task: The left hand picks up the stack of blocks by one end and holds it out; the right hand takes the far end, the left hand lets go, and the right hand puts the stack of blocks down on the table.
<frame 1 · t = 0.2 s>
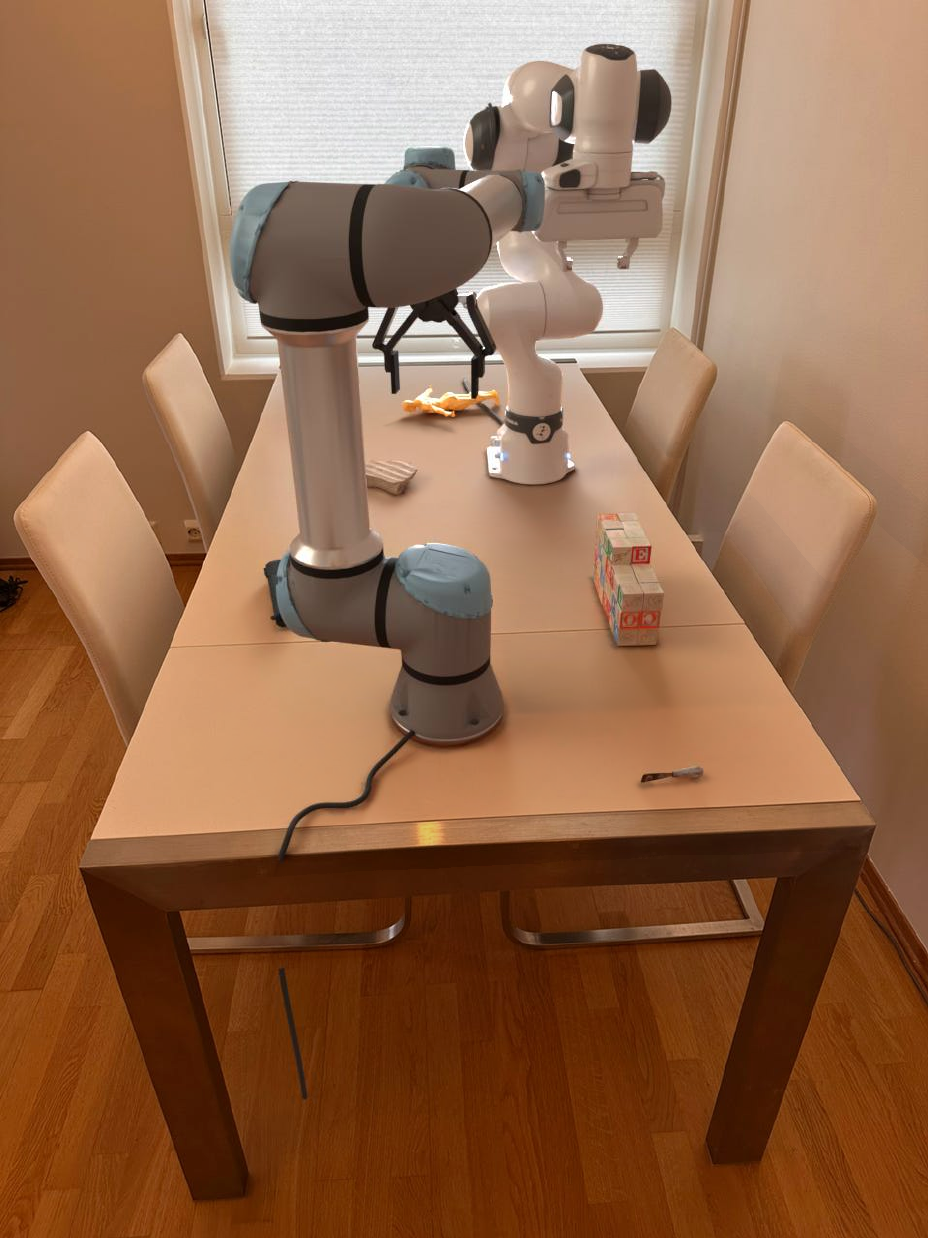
left hand: (435, 394, 149), 28 cm above the table, tool pointing down, fingers open, 13 cm apart
right hand: (594, 269, 141), 47 cm above the table, tool pointing down, fingers open, 8 cm apart
stone: (386, 483, 187), on the table
stack of blocks: (622, 609, 143), on the table
putty knife: (671, 781, 109), on the table
human figure: (450, 410, 226), on the table
handgun: (304, 597, 147), on the table
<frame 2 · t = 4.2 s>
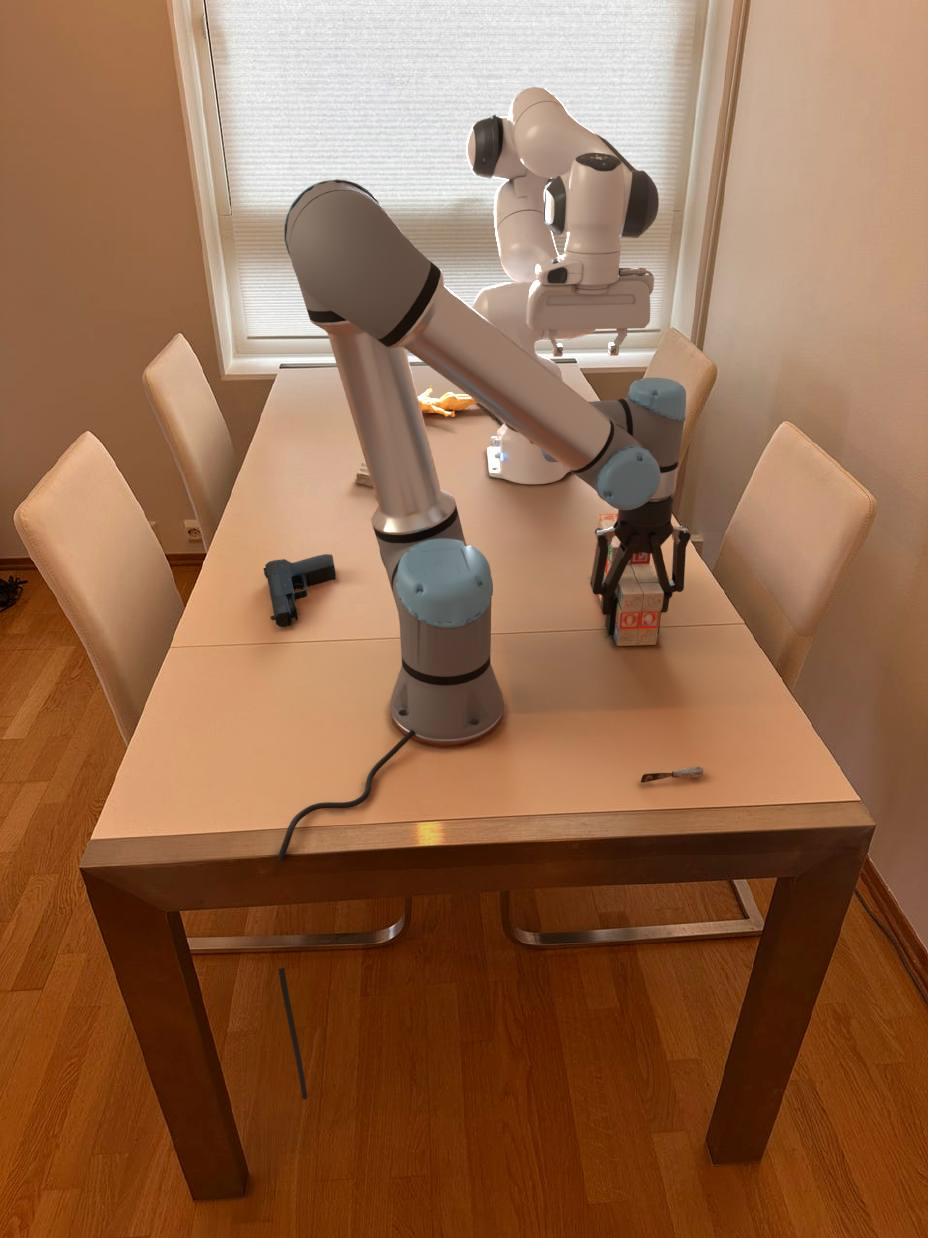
left hand: (631, 629, 137), 1 cm above the table, tool pointing down, fingers closed on stack of blocks, 6 cm apart
right hand: (585, 355, 150), 33 cm above the table, tool pointing down, fingers open, 8 cm apart
stack of blocks: (622, 609, 143), on the table, touching left hand
everything else where it was.
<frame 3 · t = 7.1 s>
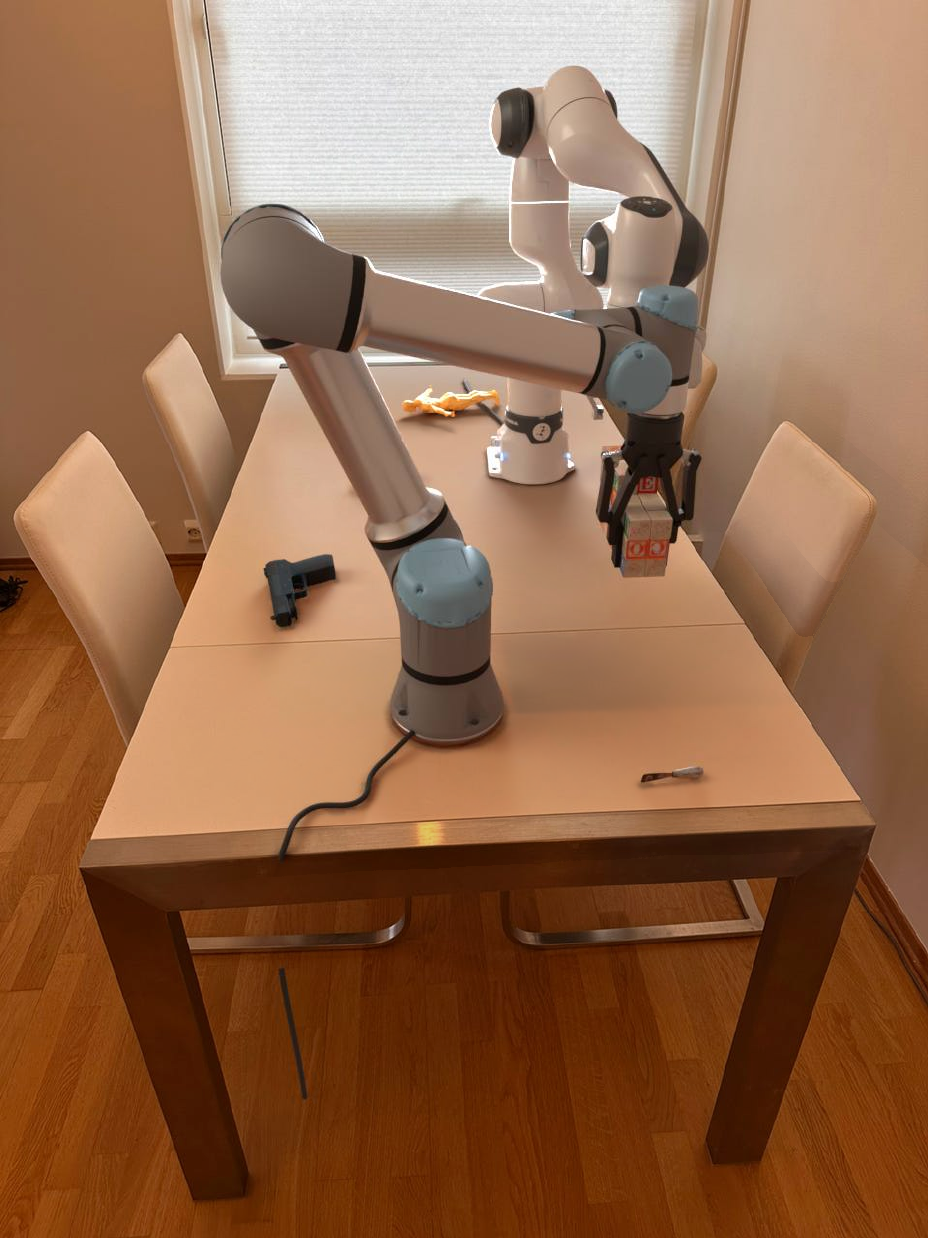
left hand: (638, 562, 131), 12 cm above the table, tool pointing down, fingers closed on stack of blocks, 6 cm apart
right hand: (628, 417, 134), 29 cm above the table, tool pointing down, fingers open, 8 cm apart
stack of blocks: (629, 545, 137), point 12 cm above the table, touching left hand
everything else where it was.
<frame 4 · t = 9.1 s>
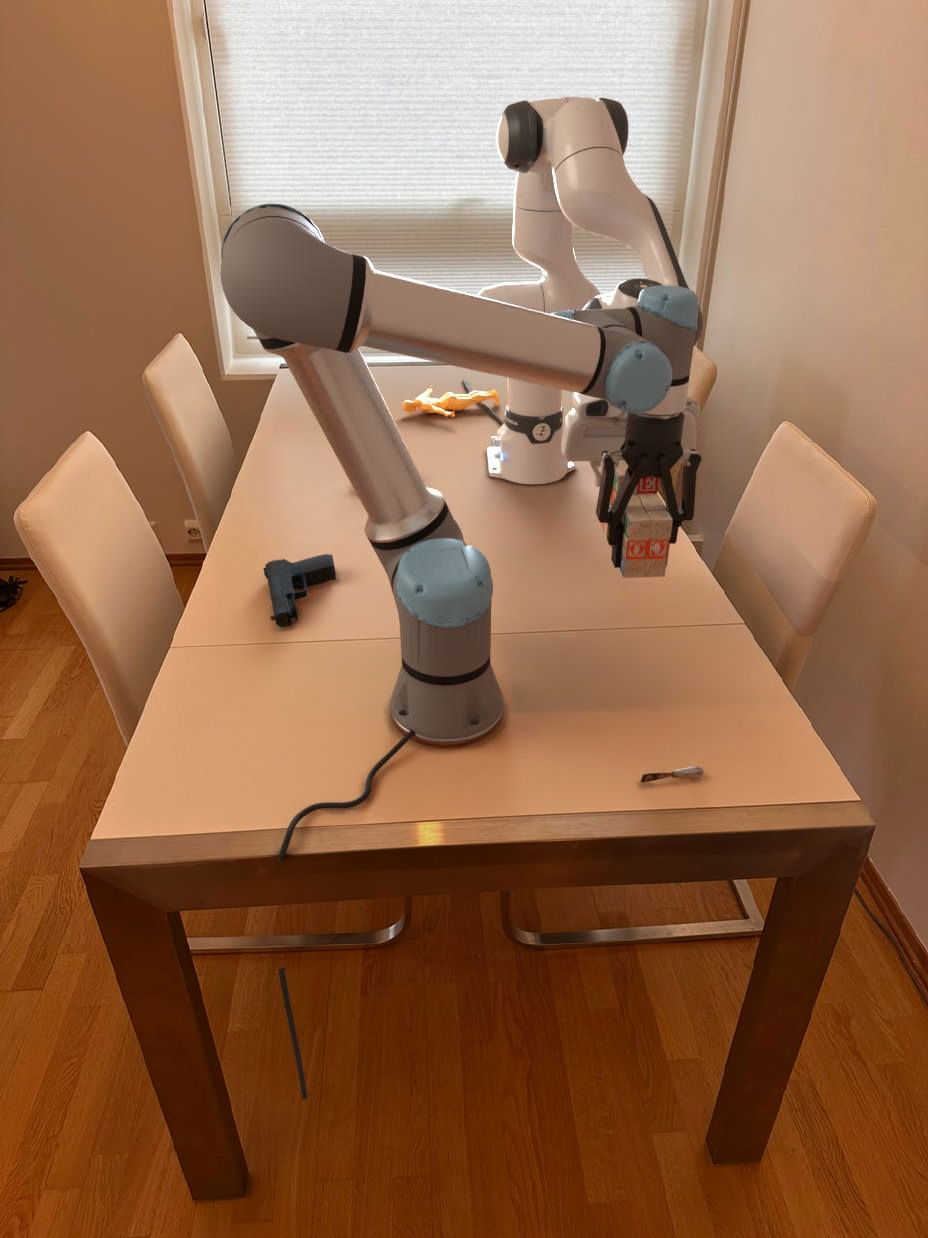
left hand: (638, 562, 131), 12 cm above the table, tool pointing down, fingers closed on stack of blocks, 6 cm apart
right hand: (624, 484, 139), 19 cm above the table, tool pointing down, fingers closed on stack of blocks, 6 cm apart
stack of blocks: (629, 545, 137), point 12 cm above the table, touching left hand, right hand
everything else where it was.
when the left hand's fingers open (12 cm above the table, at t = 10.1 s): stack of blocks stays where it is, held by the right hand.
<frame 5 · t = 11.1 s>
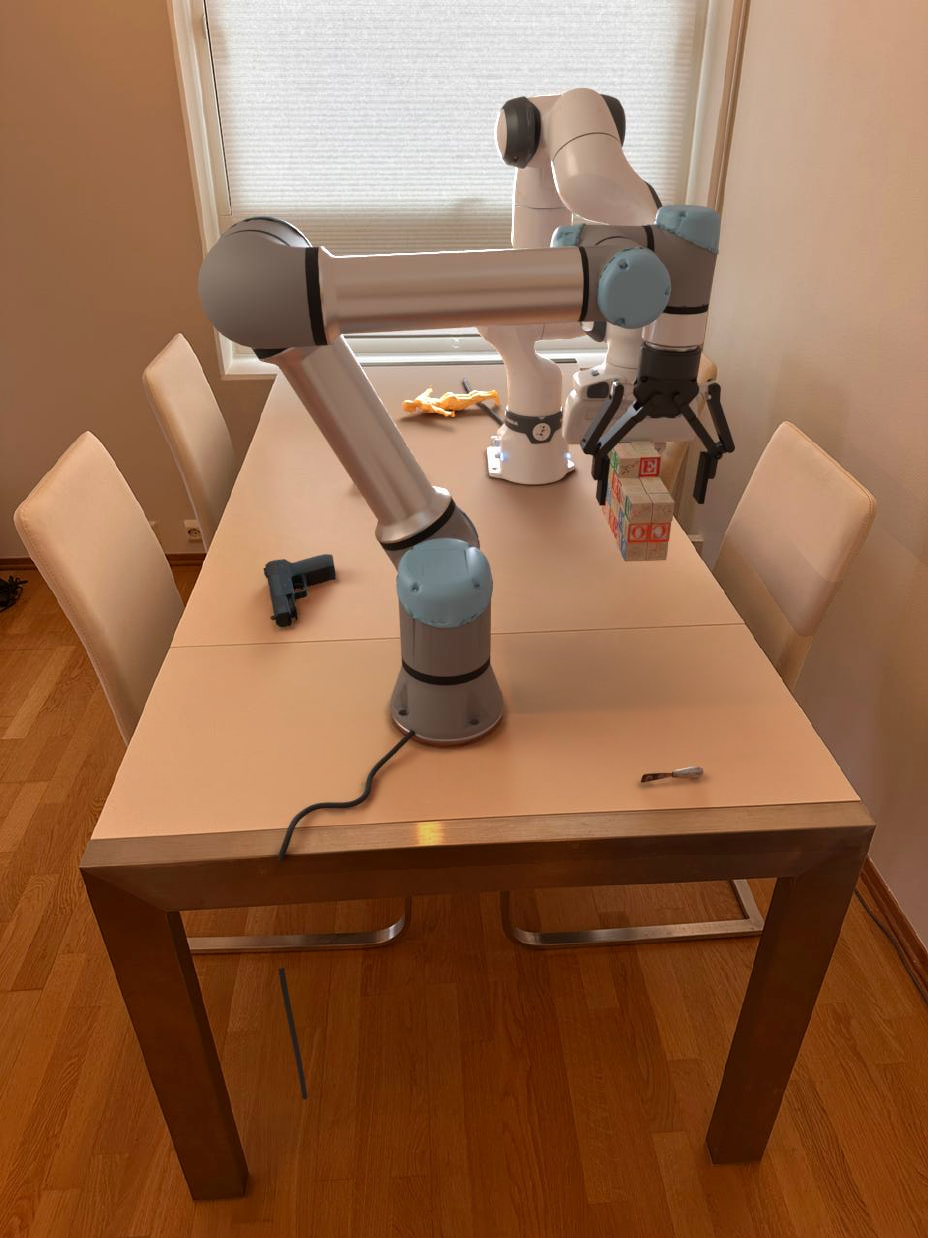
left hand: (649, 500, 122), 24 cm above the table, tool pointing down, fingers open, 13 cm apart
right hand: (625, 468, 138), 21 cm above the table, tool pointing down, fingers closed on stack of blocks, 6 cm apart
stack of blocks: (630, 529, 136), point 14 cm above the table, touching right hand
everything else where it was.
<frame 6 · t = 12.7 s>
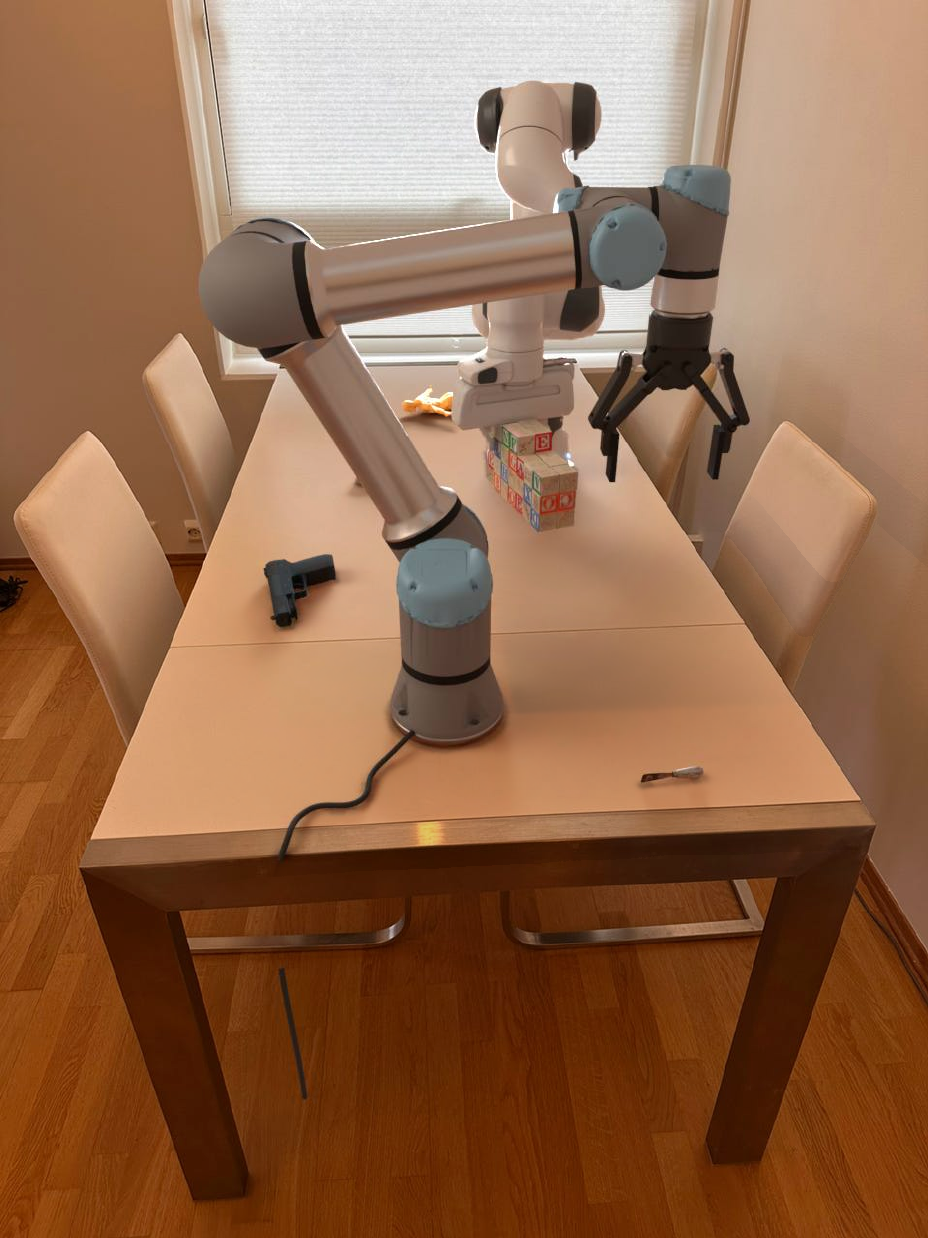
left hand: (661, 477, 118), 28 cm above the table, tool pointing down, fingers open, 13 cm apart
right hand: (512, 446, 146), 21 cm above the table, tool pointing down, fingers closed on stack of blocks, 6 cm apart
stack of blocks: (528, 502, 145), point 14 cm above the table, touching right hand
everything else where it was.
when the right hand's fingers open (9 cm above the table, at t = 16.6 s): stack of blocks stays where it is, on the table.
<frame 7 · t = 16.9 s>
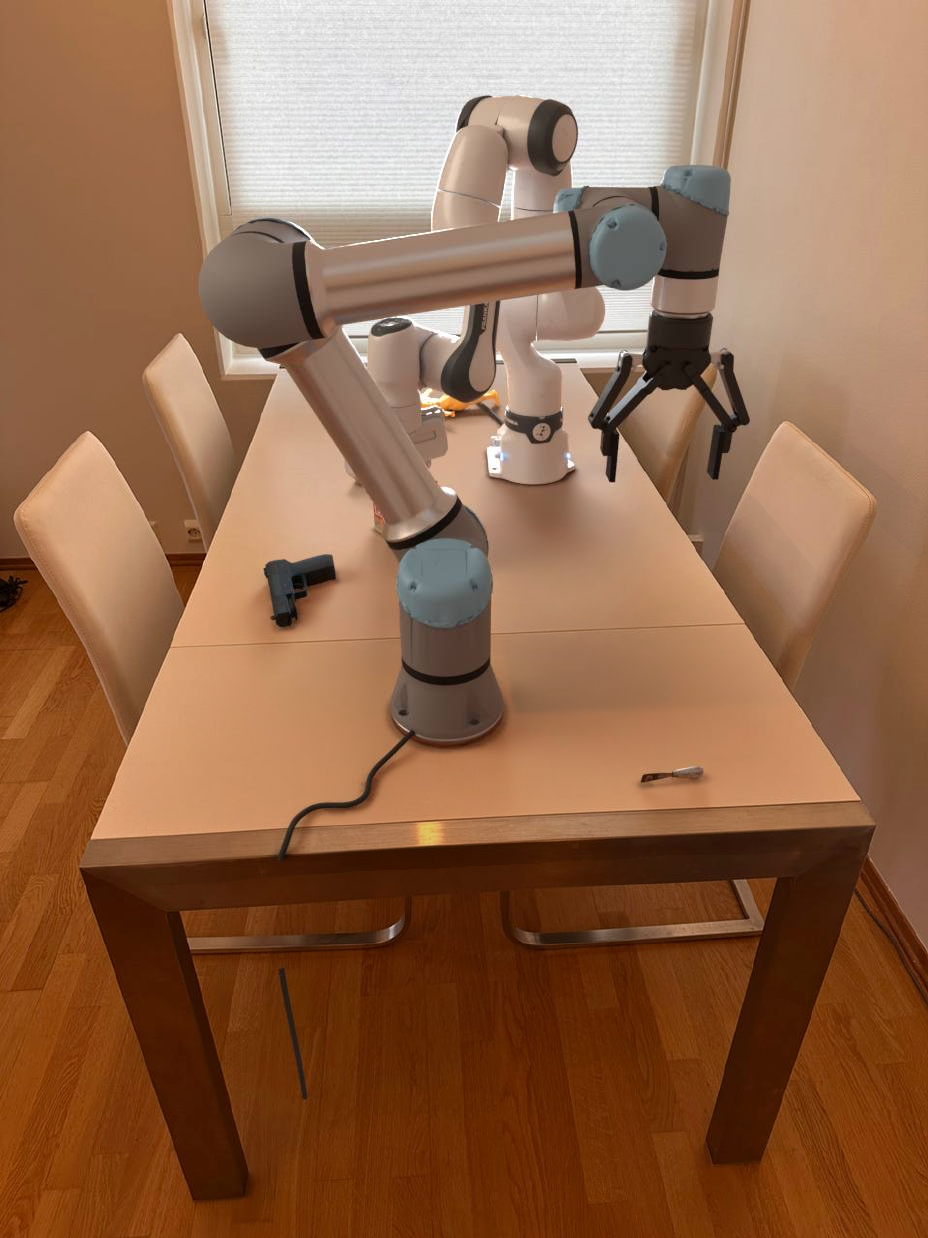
left hand: (661, 477, 118), 28 cm above the table, tool pointing down, fingers open, 13 cm apart
right hand: (399, 489, 162), 9 cm above the table, tool pointing down, fingers open, 8 cm apart
stack of blocks: (420, 544, 163), on the table
everything else where it was.
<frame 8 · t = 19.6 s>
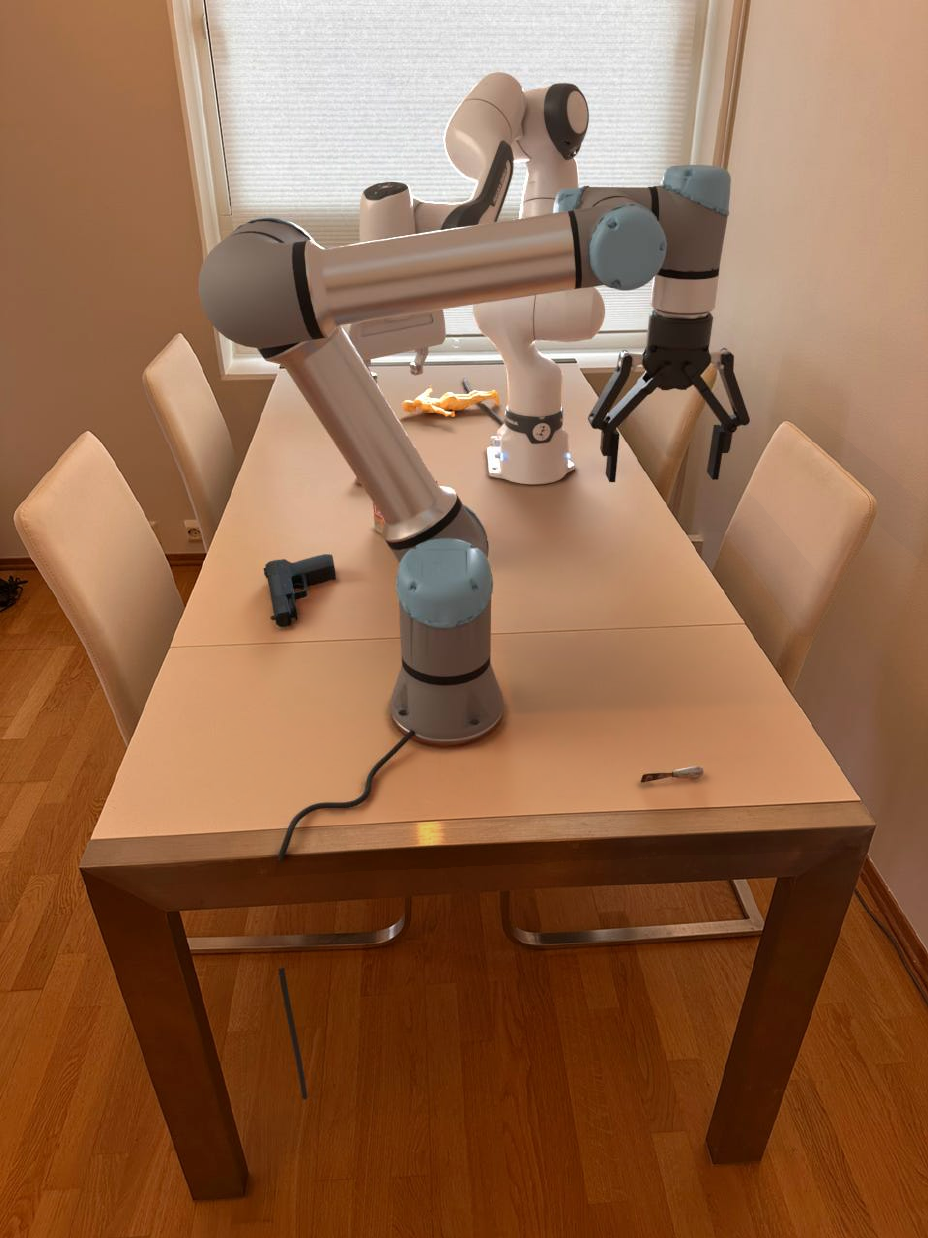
left hand: (661, 477, 118), 28 cm above the table, tool pointing down, fingers open, 13 cm apart
right hand: (394, 379, 151), 29 cm above the table, tool pointing down, fingers open, 8 cm apart
nothing on the table moved.
at the end: stack of blocks inside the target area (5.8 cm from its centre), on the table; the left hand is holding nothing; the right hand is holding nothing; stack of blocks at rest at the end (0.0 cm/s) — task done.
